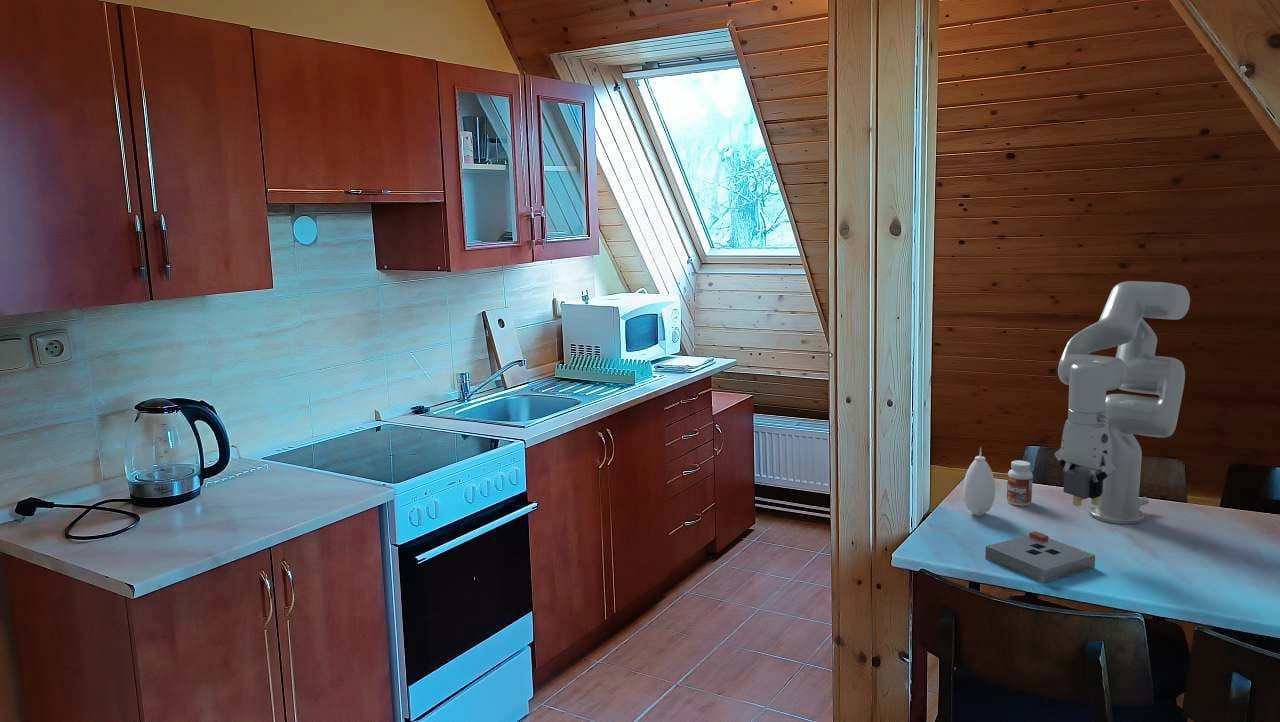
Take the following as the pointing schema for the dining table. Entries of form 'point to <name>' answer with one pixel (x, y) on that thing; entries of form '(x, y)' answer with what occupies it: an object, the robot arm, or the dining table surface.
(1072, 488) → the plug
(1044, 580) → the socket
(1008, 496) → the pill bottle
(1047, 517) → the dining table surface
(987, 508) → the air blower bulb
